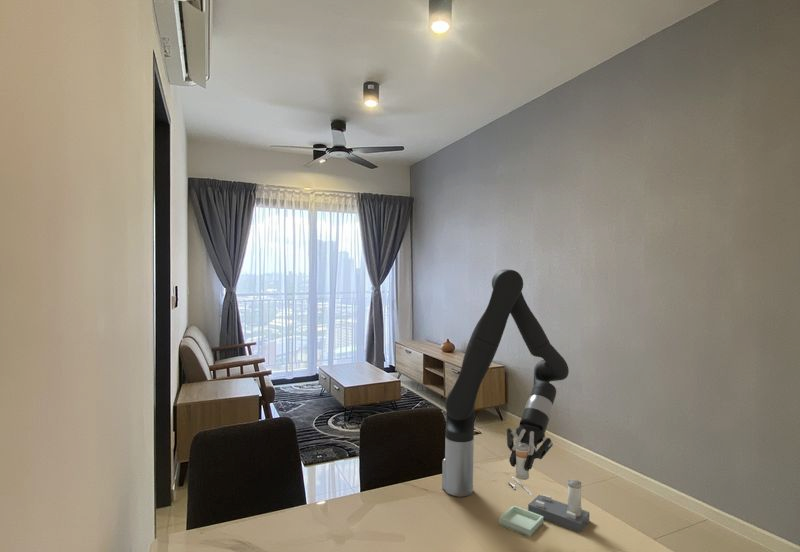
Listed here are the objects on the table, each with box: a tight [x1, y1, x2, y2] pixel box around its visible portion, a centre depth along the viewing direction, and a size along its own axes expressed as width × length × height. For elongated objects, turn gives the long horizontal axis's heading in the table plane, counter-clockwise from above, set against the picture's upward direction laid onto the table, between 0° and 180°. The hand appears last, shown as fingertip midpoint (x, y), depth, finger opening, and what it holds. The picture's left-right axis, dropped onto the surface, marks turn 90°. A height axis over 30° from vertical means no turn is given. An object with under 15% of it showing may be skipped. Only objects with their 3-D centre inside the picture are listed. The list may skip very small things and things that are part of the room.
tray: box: [498, 504, 545, 538], centre depth 121 cm, size 9×9×2 cm
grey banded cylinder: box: [515, 442, 530, 481], centre depth 121 cm, size 4×4×9 cm
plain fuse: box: [567, 478, 582, 517], centre depth 122 cm, size 4×4×9 cm
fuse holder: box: [527, 493, 590, 534], centre depth 125 cm, size 15×8×4 cm, turn 50°
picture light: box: [507, 476, 533, 497], centre depth 144 cm, size 14×4×2 cm, turn 13°
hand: (519, 467), depth 120 cm, fingers closed on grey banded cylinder, 3 cm apart
